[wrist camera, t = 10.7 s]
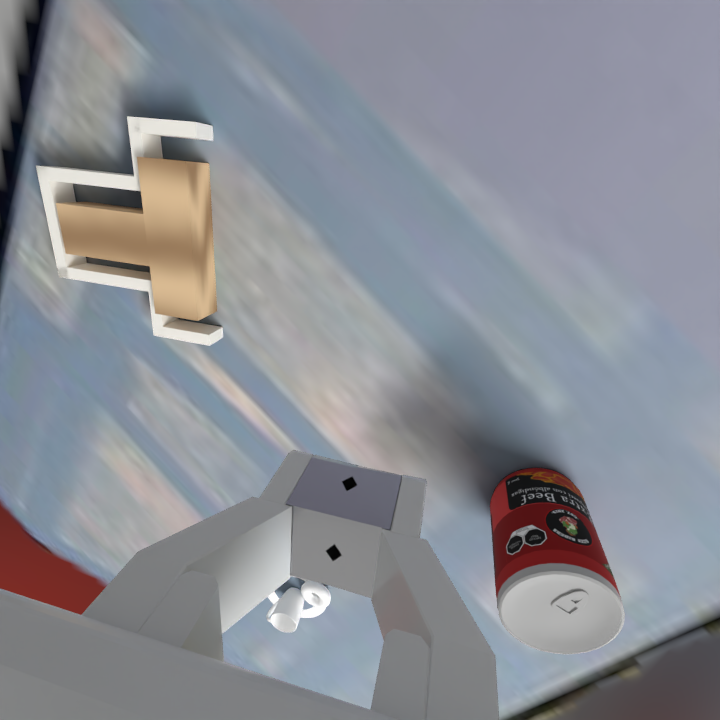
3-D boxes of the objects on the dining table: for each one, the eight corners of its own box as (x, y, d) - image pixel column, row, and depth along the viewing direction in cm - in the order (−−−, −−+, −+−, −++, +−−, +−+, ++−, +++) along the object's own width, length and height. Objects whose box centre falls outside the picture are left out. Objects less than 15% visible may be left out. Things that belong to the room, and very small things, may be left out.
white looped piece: (332, 573, 47) (321, 605, 44) (336, 620, 50) (326, 654, 47) (261, 560, 49) (245, 590, 46) (270, 607, 52) (255, 638, 49)
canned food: (598, 481, 35) (650, 597, 25) (559, 546, 38) (591, 671, 29) (508, 452, 36) (524, 554, 26) (477, 518, 39) (481, 630, 30)
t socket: (49, 112, 34) (23, 107, 32) (212, 125, 31) (195, 122, 29) (87, 312, 41) (68, 319, 39) (223, 337, 38) (209, 345, 36)
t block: (77, 150, 34) (44, 147, 32) (209, 163, 32) (185, 161, 30) (101, 291, 39) (74, 299, 37) (217, 311, 37) (197, 320, 35)
